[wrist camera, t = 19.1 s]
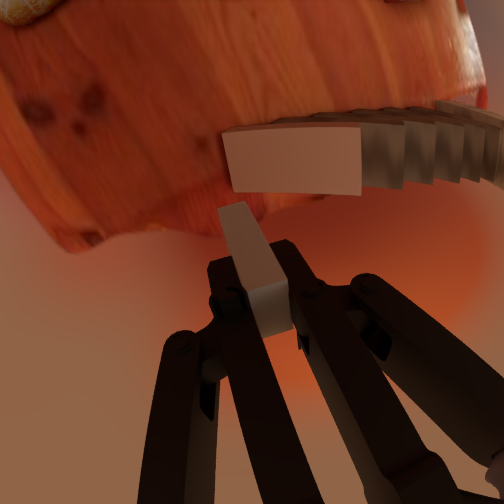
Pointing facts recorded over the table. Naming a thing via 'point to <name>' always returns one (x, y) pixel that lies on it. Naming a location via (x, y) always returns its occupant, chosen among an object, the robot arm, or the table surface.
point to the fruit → (24, 10)
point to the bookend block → (481, 116)
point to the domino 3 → (409, 144)
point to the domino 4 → (439, 144)
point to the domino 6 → (490, 144)
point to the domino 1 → (295, 158)
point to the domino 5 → (471, 147)
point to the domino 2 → (374, 148)
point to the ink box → (398, 0)
